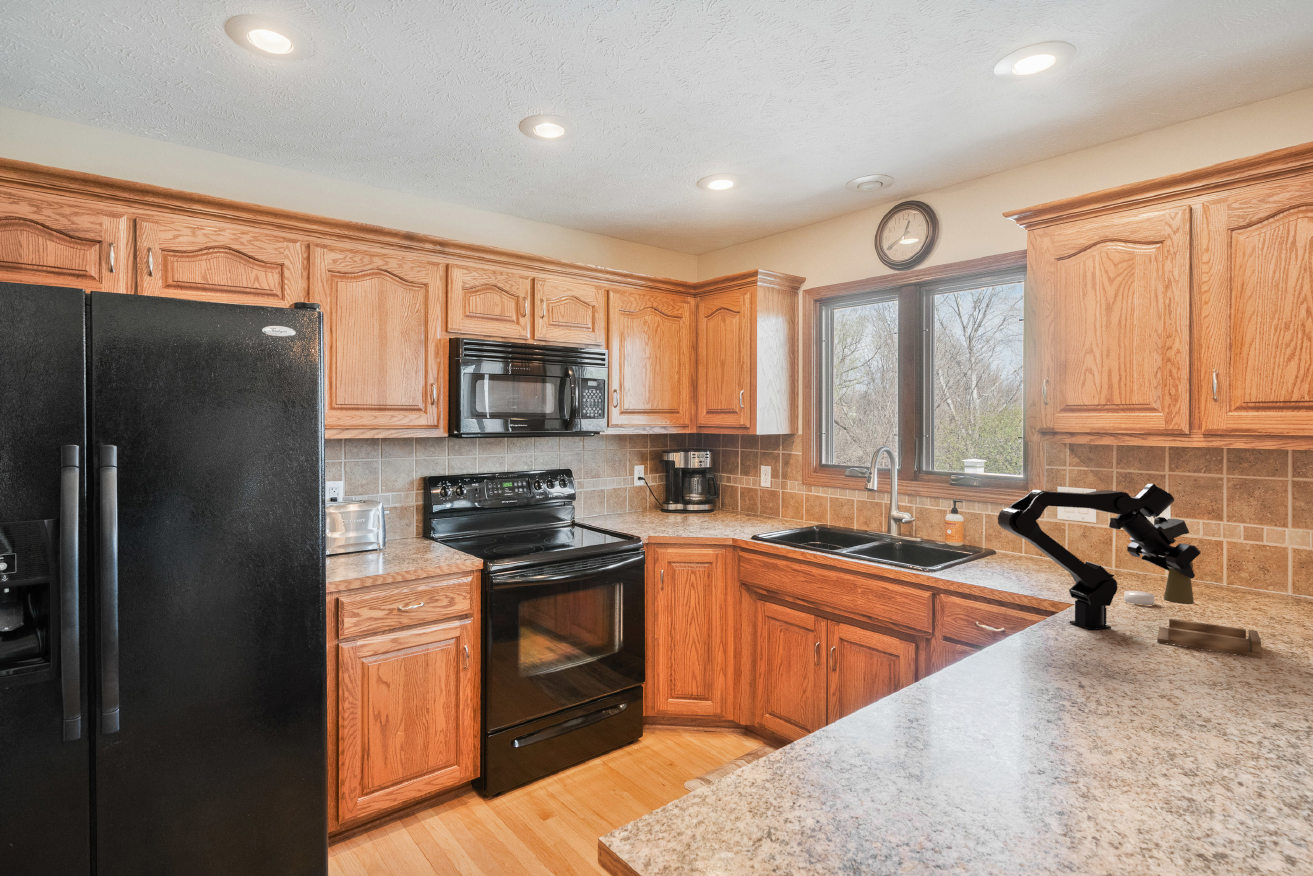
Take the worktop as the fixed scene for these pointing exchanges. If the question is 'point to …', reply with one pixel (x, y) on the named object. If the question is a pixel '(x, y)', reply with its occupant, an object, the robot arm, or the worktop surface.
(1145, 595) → the white rounded cylinder
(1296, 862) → the worktop surface
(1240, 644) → the rack
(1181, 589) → the cork
